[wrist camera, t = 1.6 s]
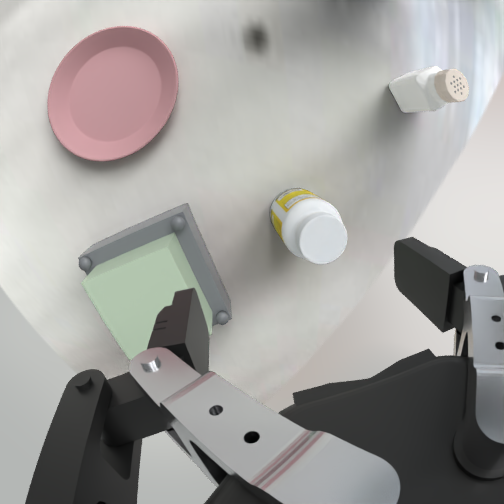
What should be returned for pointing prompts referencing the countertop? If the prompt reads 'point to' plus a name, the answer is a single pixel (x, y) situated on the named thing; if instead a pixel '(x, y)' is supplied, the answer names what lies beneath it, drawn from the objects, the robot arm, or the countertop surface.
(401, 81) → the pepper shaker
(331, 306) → the countertop surface
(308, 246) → the supplement bottle
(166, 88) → the plate
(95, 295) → the sponge in grey tray
